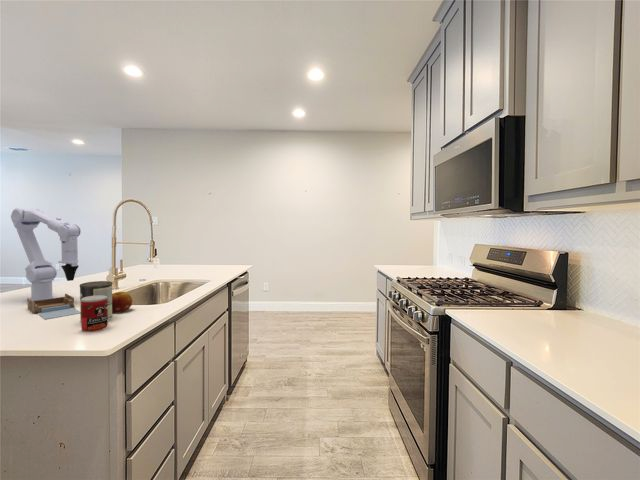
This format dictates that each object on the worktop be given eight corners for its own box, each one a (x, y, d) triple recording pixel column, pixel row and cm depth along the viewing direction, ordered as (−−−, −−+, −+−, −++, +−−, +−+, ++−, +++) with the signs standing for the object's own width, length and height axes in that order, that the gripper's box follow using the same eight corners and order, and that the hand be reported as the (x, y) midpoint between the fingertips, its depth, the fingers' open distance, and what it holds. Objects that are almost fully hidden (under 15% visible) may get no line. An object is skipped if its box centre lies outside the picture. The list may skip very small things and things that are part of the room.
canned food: (87, 333, 105) (86, 301, 105) (77, 328, 109) (76, 298, 109) (112, 327, 112) (111, 297, 111) (101, 323, 116) (101, 294, 115)
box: (27, 308, 133) (27, 298, 132) (65, 302, 143) (65, 293, 143) (34, 314, 125) (34, 303, 125) (74, 307, 136) (73, 297, 136)
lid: (37, 315, 126) (37, 309, 126) (72, 309, 135) (72, 303, 135) (44, 321, 119) (44, 314, 119) (81, 314, 128) (81, 308, 128)
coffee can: (76, 324, 114) (75, 286, 113) (84, 317, 123) (83, 281, 122) (110, 321, 118) (109, 285, 117) (114, 314, 127) (114, 280, 127)
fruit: (103, 315, 126) (102, 295, 126) (108, 309, 134) (108, 291, 134) (130, 313, 130) (130, 294, 129) (134, 307, 138) (134, 289, 138)
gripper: (54, 250, 144) (54, 279, 144) (63, 252, 135) (63, 283, 135) (72, 249, 149) (73, 277, 150) (82, 251, 140) (83, 281, 141)
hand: (70, 280), depth 143 cm, fingers closed
